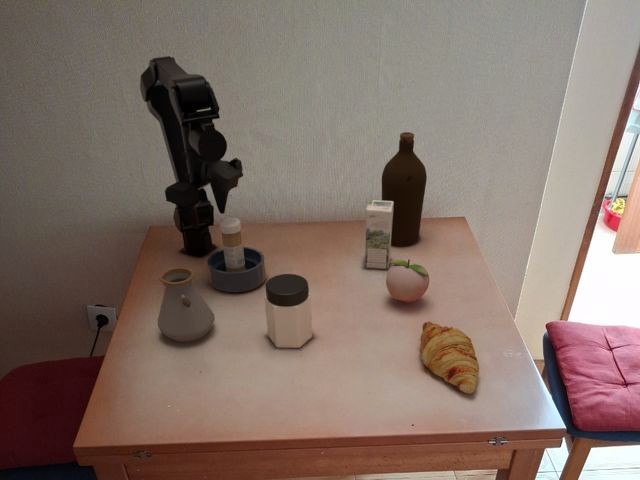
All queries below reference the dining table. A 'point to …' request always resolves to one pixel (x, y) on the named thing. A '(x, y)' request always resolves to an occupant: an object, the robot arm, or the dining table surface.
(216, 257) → the bowl
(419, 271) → the decorative fruit
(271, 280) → the jar
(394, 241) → the olive oil
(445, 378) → the croissant
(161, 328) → the coffee pot
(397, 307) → the dining table surface
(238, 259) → the sprinkles bottle
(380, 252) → the syrup box
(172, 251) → the dining table surface
